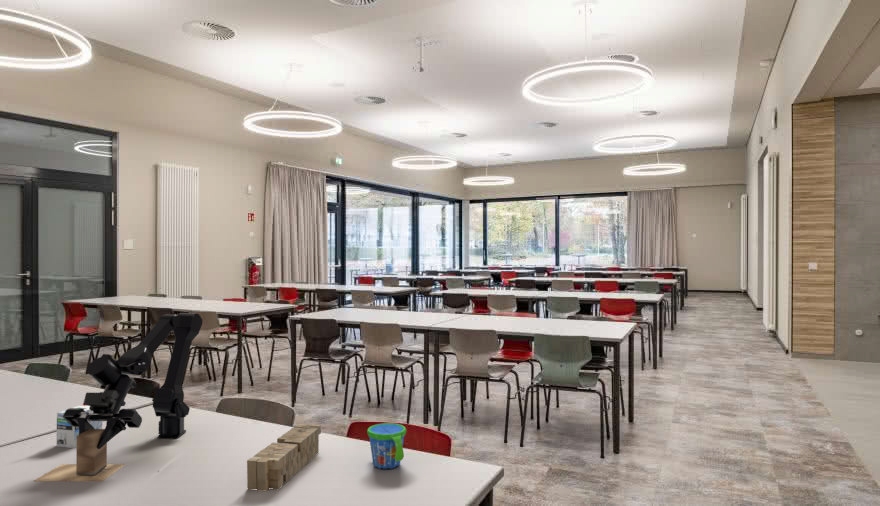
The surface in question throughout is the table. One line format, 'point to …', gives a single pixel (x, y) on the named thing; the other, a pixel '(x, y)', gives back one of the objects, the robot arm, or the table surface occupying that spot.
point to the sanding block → (90, 453)
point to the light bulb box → (71, 429)
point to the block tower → (283, 457)
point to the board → (69, 474)
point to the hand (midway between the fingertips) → (88, 448)
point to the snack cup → (386, 444)
